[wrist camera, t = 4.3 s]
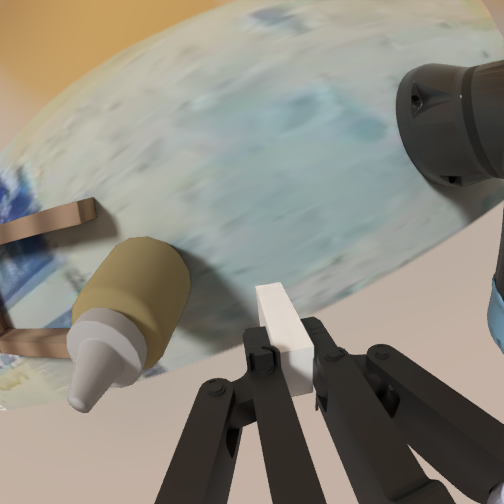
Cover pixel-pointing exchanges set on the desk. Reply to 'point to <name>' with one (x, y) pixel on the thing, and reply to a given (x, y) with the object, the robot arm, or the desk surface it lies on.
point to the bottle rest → (37, 223)
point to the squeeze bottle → (125, 317)
